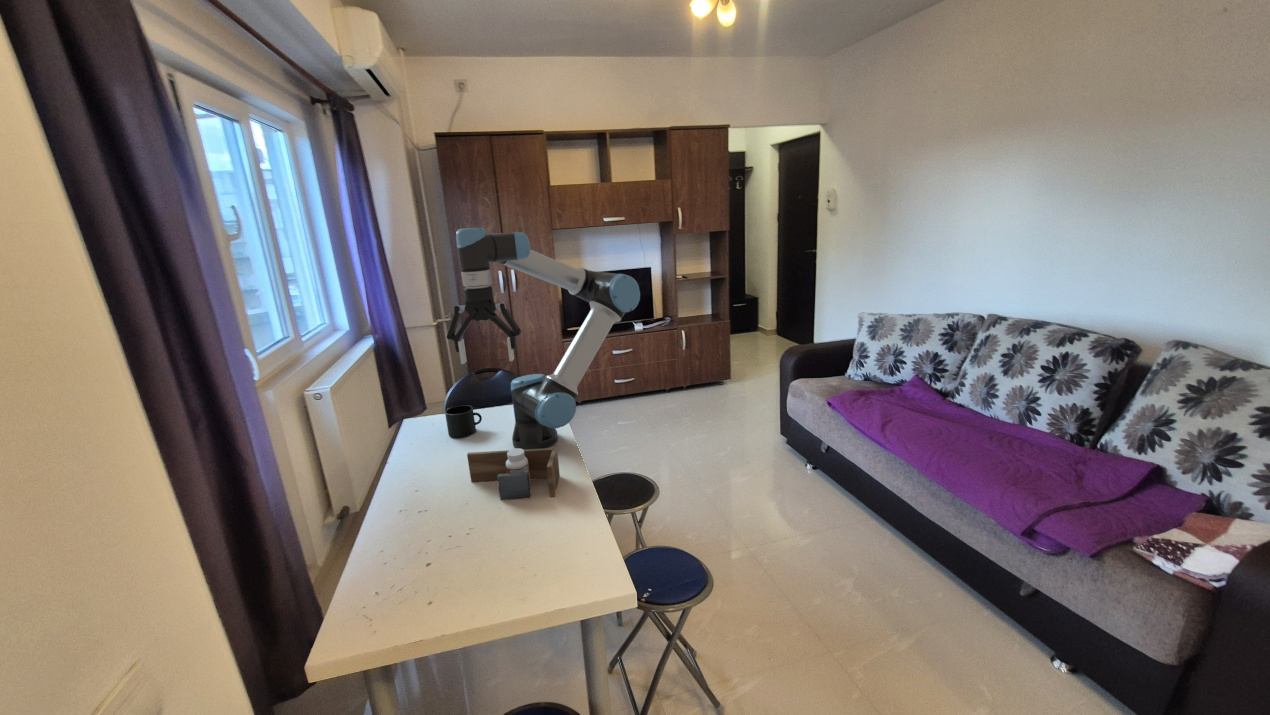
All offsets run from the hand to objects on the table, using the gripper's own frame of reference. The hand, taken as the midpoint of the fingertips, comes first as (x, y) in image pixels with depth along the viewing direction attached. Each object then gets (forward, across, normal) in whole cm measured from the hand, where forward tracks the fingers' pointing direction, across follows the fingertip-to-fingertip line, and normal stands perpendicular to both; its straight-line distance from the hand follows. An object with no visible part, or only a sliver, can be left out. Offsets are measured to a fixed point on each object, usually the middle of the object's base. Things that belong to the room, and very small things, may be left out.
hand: (488, 361), depth 147 cm
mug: (+35, -21, +32) cm, 52 cm away
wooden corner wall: (+35, +5, -10) cm, 36 cm away
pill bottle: (+35, +7, -10) cm, 37 cm away
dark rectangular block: (+35, +7, -15) cm, 39 cm away
